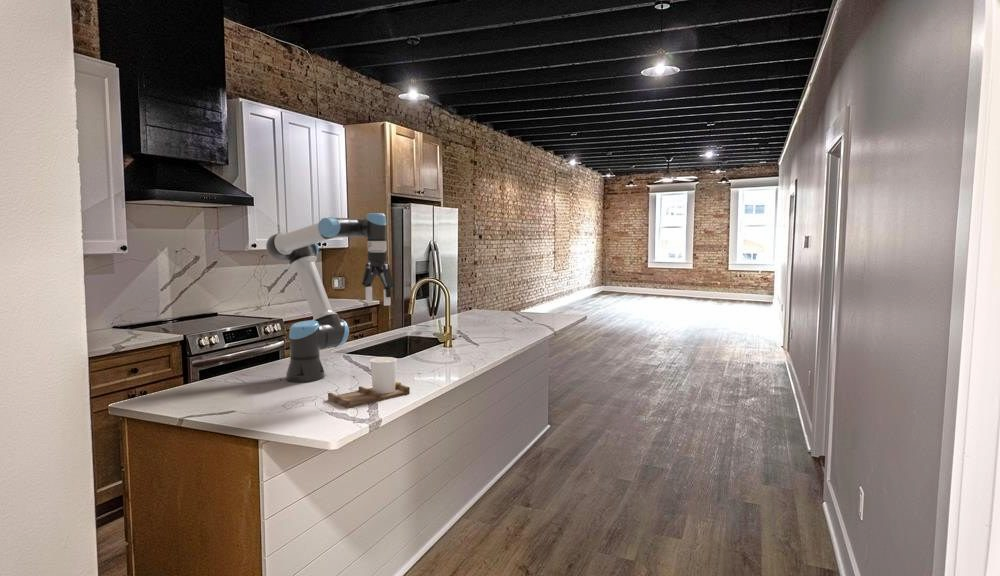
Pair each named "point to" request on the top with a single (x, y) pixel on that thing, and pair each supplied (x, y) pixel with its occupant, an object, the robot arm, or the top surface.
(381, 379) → the candle holder
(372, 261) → the robot arm
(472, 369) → the top surface
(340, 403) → the brown wooden flat tray
